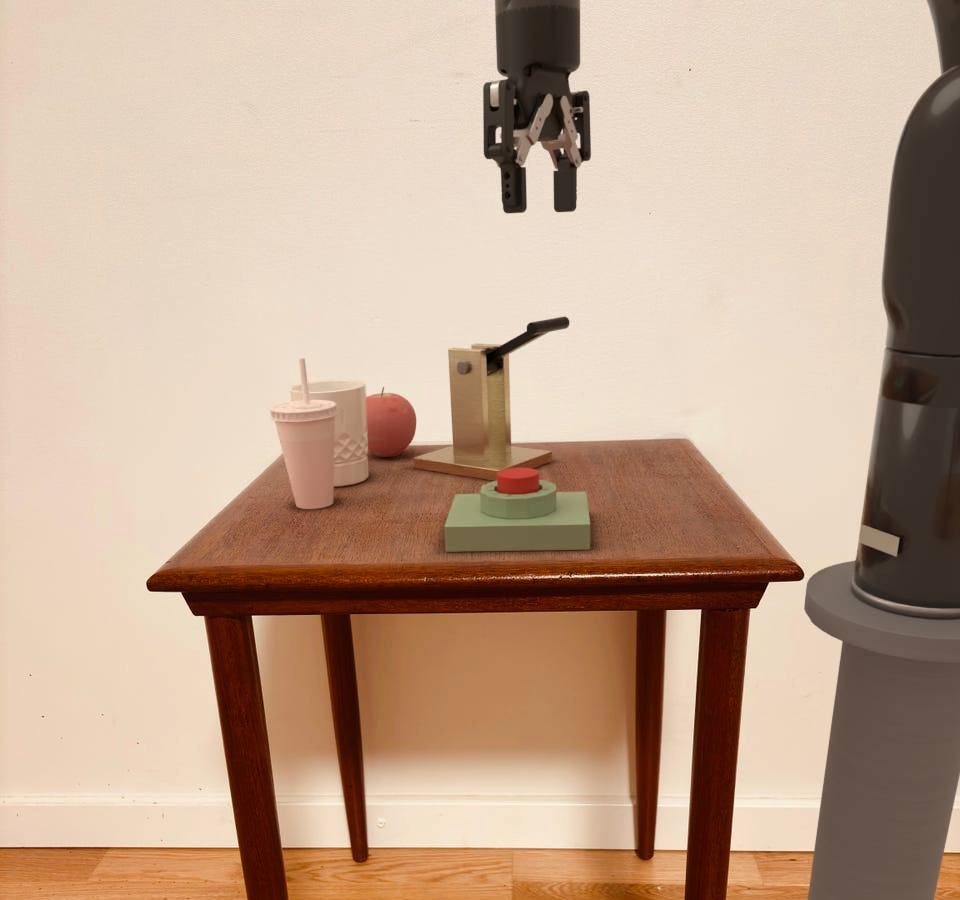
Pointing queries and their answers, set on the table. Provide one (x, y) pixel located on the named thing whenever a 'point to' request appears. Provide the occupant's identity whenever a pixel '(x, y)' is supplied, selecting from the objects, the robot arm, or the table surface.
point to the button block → (518, 521)
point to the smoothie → (308, 446)
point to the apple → (389, 424)
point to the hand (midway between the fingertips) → (541, 212)
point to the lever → (524, 339)
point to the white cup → (344, 426)
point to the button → (518, 481)
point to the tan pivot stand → (480, 421)
